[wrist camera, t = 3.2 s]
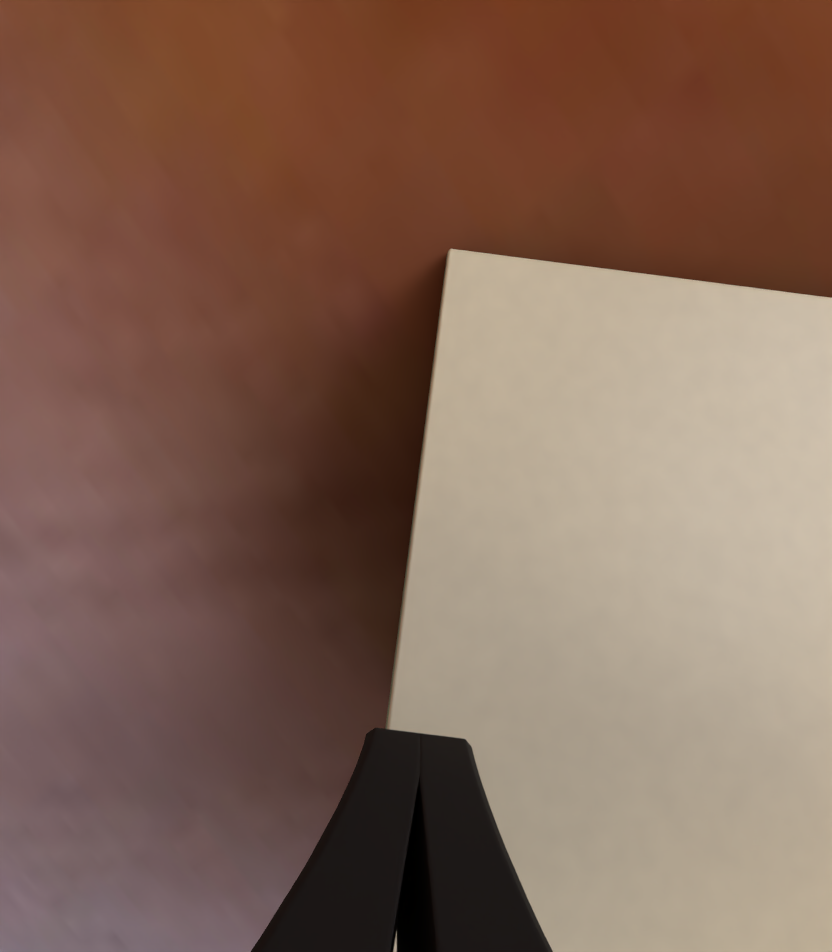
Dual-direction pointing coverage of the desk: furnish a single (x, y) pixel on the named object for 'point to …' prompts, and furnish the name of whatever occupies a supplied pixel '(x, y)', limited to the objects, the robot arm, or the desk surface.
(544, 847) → the lunchbox lid
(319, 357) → the desk surface
